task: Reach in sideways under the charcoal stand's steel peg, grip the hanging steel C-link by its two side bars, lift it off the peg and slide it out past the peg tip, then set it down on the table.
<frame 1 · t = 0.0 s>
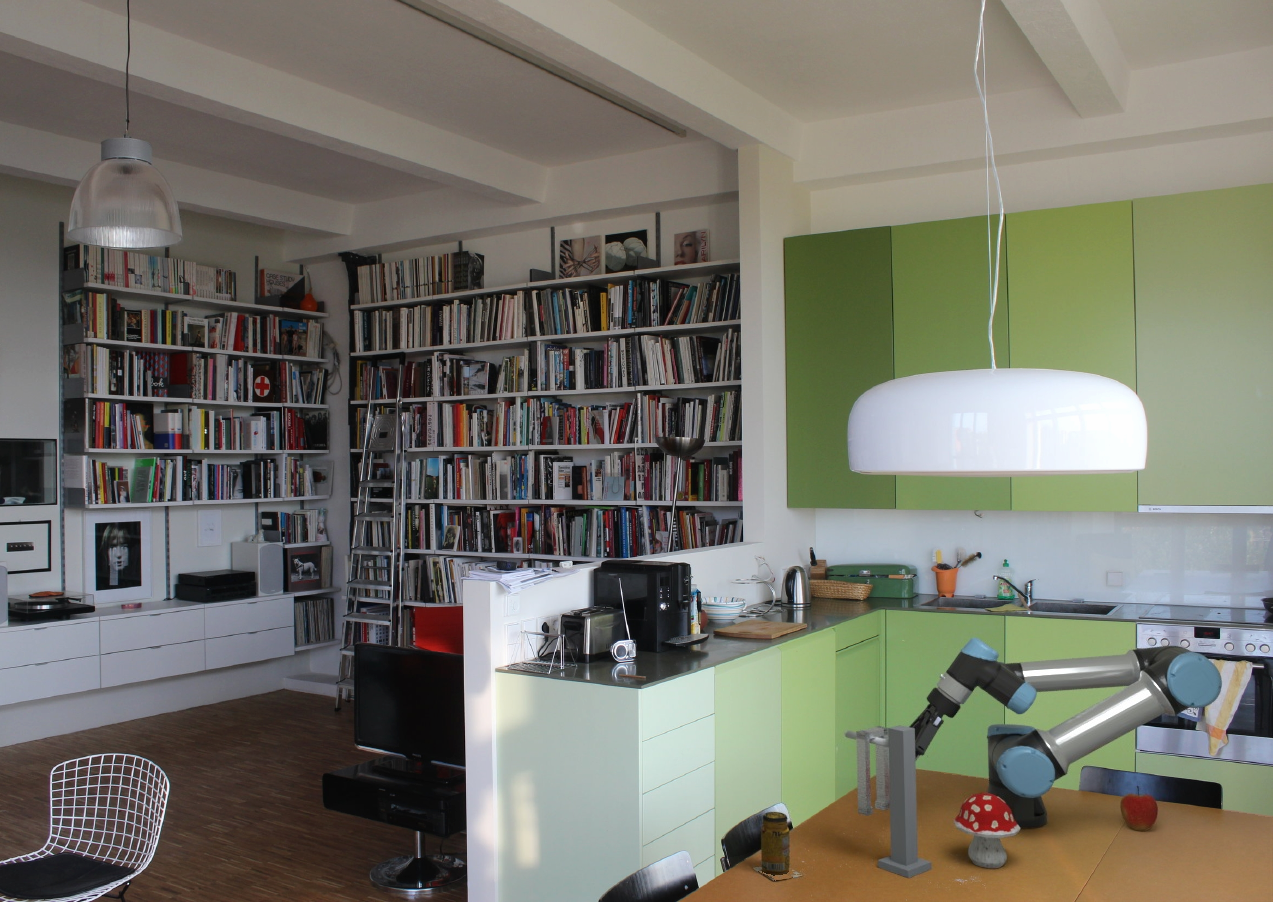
hand: (896, 766, 238), 15 cm above the table, tool tilted 35°, fingers open, 13 cm apart
hook stand: (904, 867, 214), on the table
c link: (874, 810, 220), point 10 cm above the table, touching hook stand
apple: (1139, 830, 237), on the table
condiment: (777, 873, 212), on the table
decorative mushroom: (987, 864, 216), on the table
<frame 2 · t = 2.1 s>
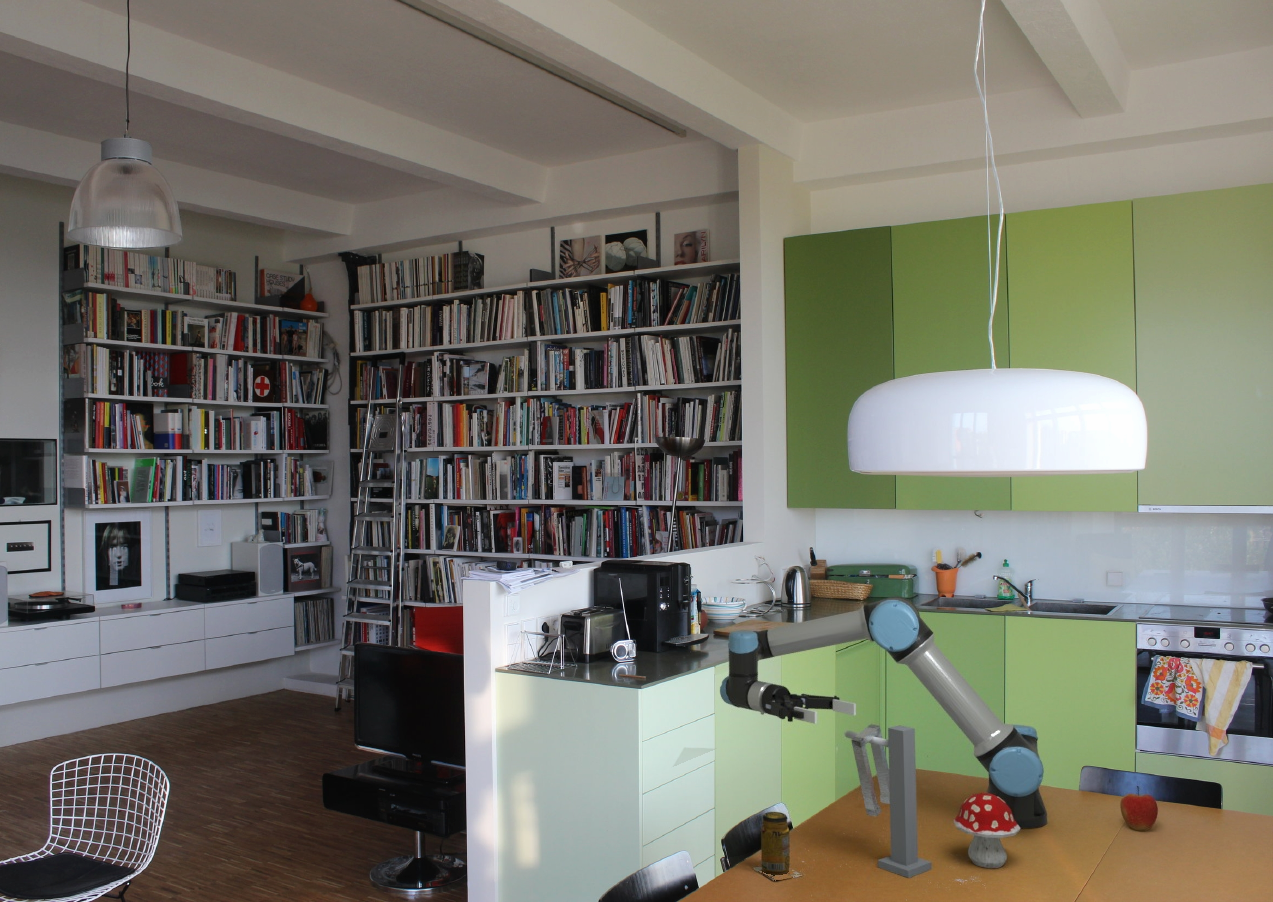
hand: (835, 713, 230), 30 cm above the table, tool horizontal, fingers open, 13 cm apart
c link: (881, 806, 222), point 11 cm above the table, tilted 15°, touching hook stand
everything else where it was.
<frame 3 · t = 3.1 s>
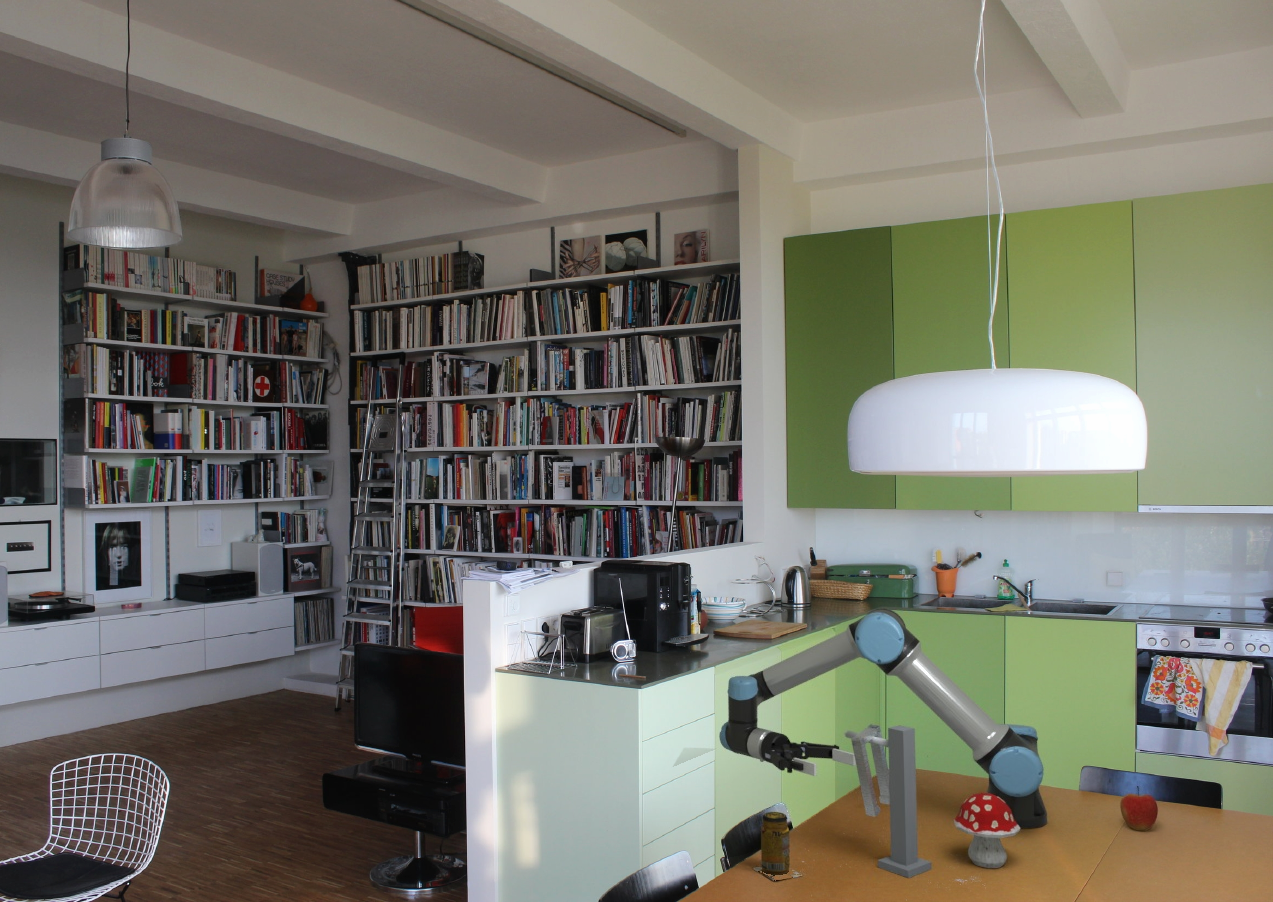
hand: (835, 764, 229), 18 cm above the table, tool horizontal, fingers open, 13 cm apart
nothing on the table moved.
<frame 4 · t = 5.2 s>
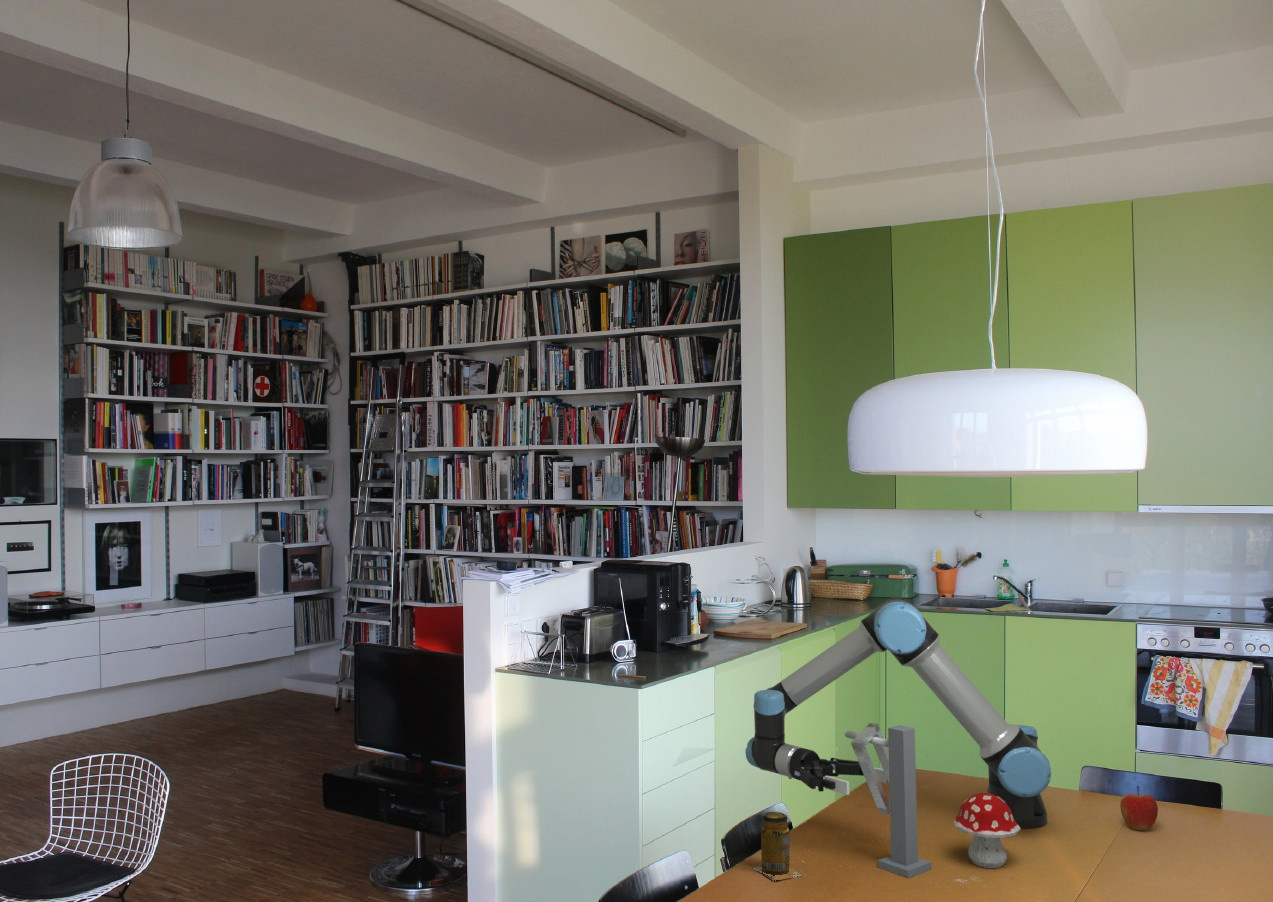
hand: (868, 782, 221), 16 cm above the table, tool horizontal, fingers open, 13 cm apart
c link: (893, 803, 223), point 11 cm above the table, tilted 24°, touching hook stand
everything else where it was.
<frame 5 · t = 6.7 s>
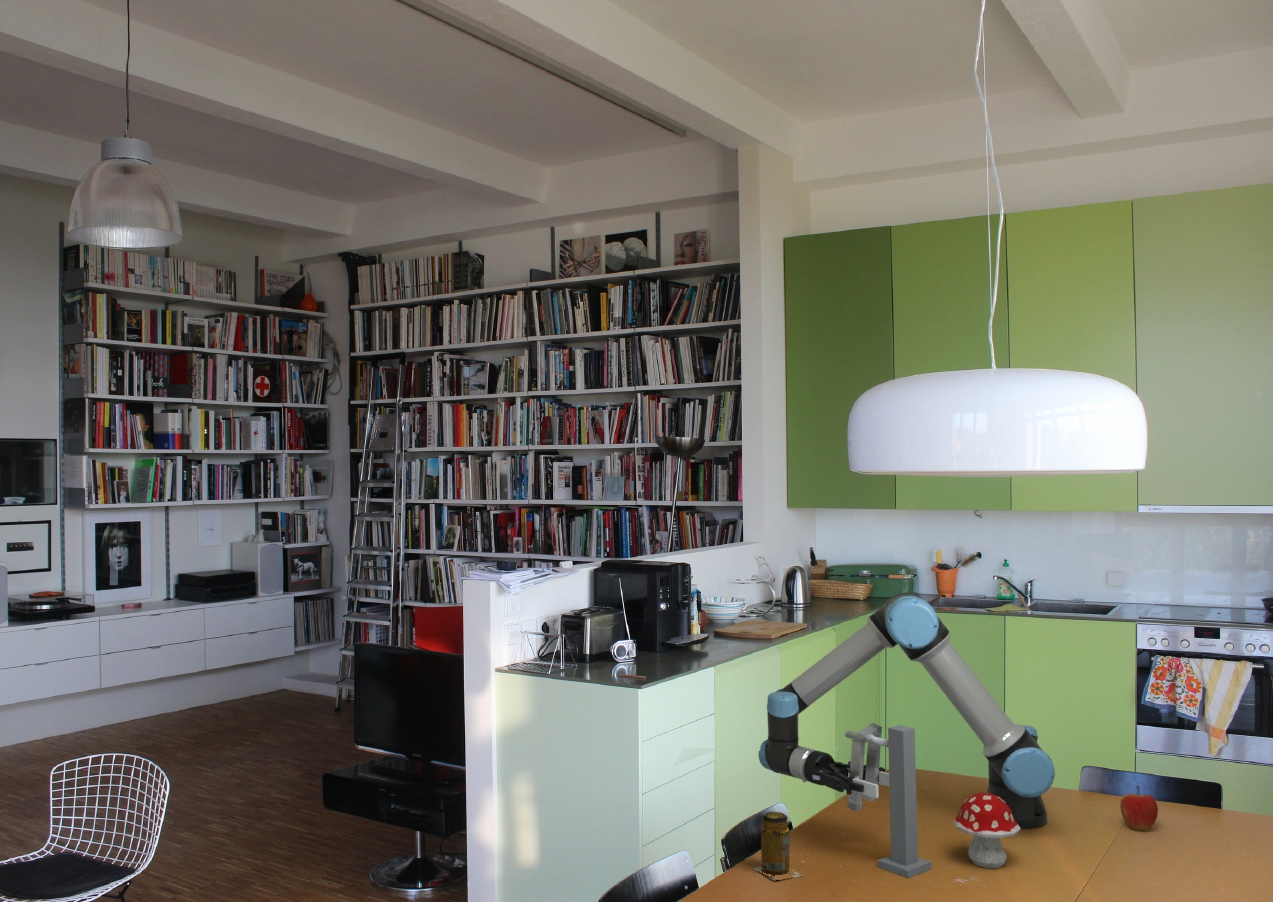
hand: (890, 787, 217), 16 cm above the table, tool horizontal, fingers closed on c link, 8 cm apart
c link: (862, 802, 224), point 11 cm above the table, tilted 16°, touching gripper, hook stand
everything else where it was.
when the fingers open (7 cm above the table, at t = 14.5 s): c link moves 2 cm and tips over, point 1 cm above the table.
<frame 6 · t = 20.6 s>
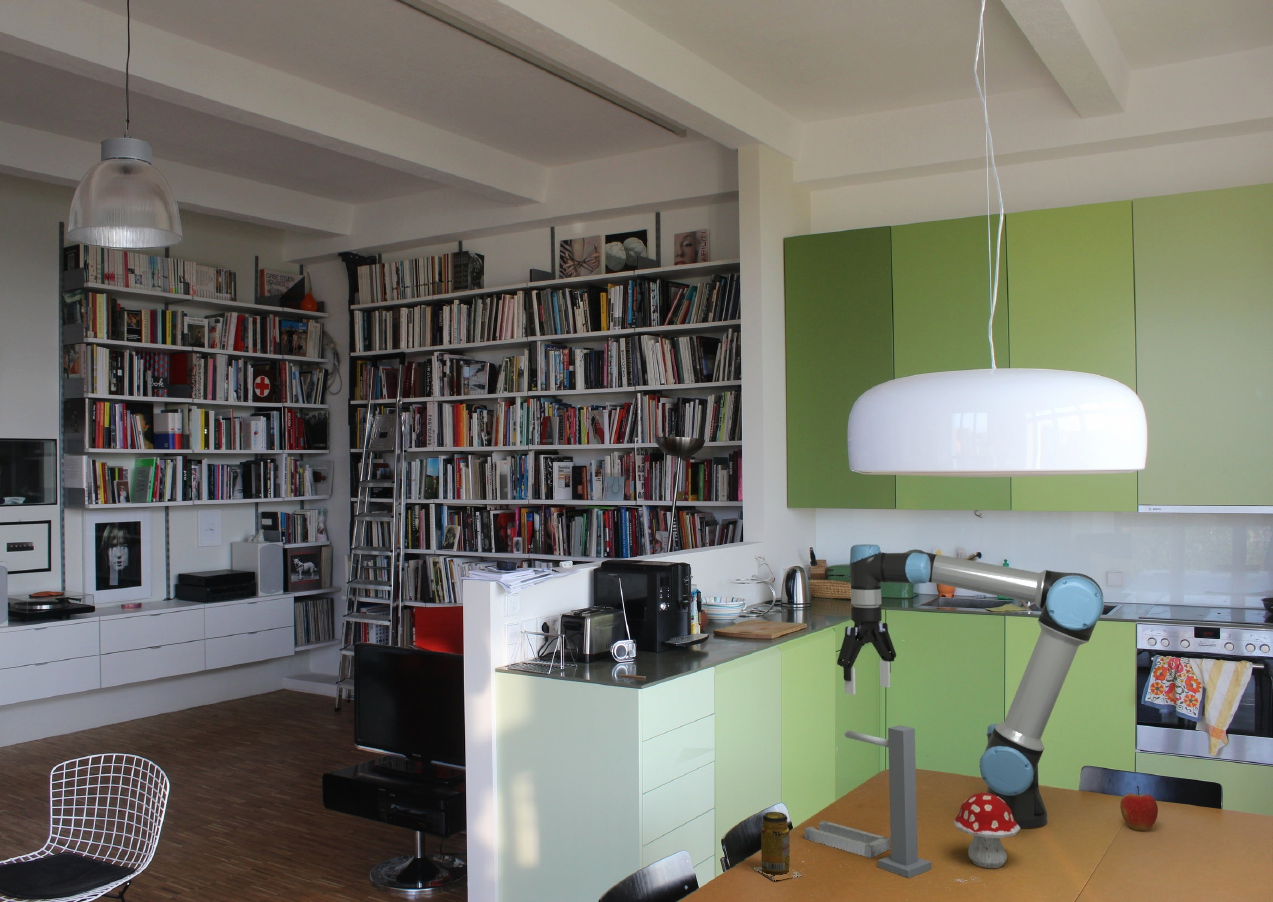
hand: (868, 690, 249), 32 cm above the table, tool pointing down, fingers open, 13 cm apart
c link: (814, 829, 235), point 1 cm above the table, tilted 90°
everything else where it was.
at the end: c link inside the target area (2.9 cm from its centre), point 1.2 cm above the table; c link touching table; the gripper is holding nothing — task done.
